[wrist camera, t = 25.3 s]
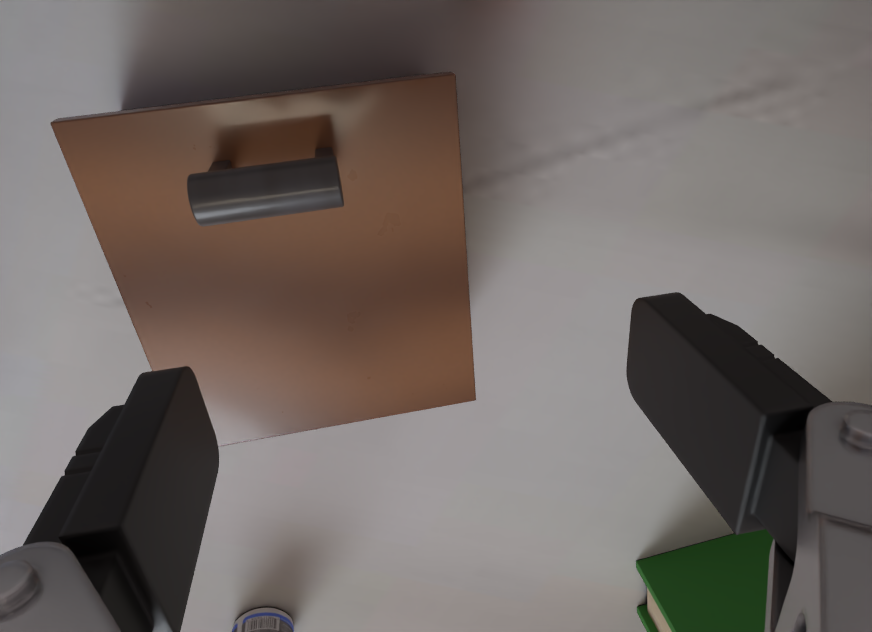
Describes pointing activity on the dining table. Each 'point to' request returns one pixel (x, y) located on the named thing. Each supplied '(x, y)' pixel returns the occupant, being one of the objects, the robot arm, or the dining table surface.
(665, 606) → the hardback book
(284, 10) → the dining table surface
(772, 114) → the dining table surface
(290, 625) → the pill bottle
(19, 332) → the dining table surface
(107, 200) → the lid
